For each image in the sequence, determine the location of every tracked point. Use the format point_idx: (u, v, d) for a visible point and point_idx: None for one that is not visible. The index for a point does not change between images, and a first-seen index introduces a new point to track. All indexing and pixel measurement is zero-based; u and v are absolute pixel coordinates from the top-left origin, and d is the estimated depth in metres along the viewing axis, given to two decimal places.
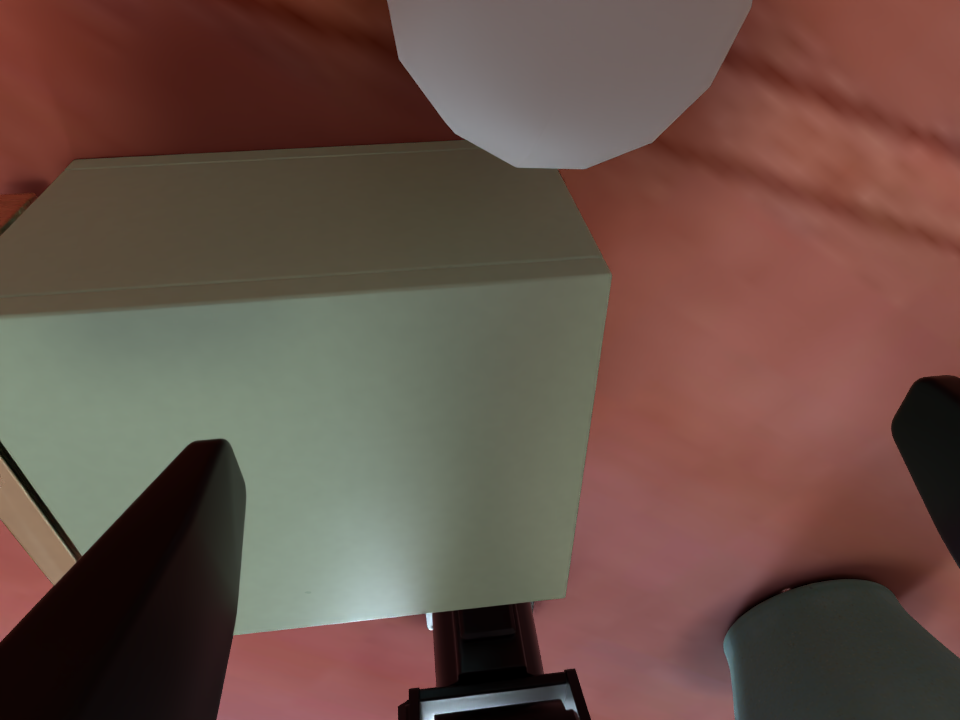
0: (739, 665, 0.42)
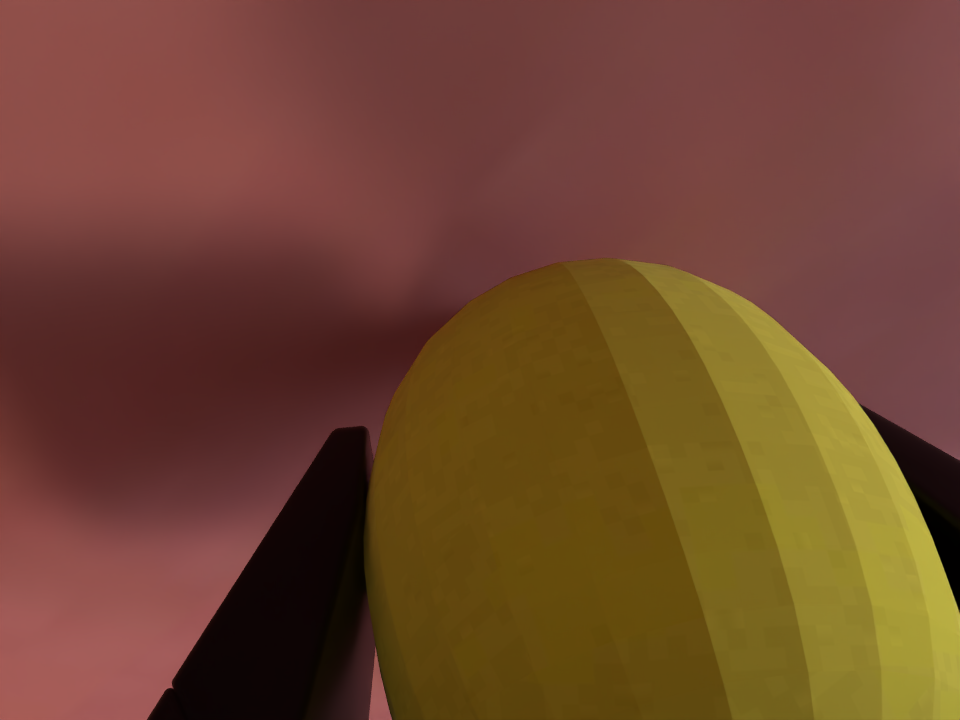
0: None
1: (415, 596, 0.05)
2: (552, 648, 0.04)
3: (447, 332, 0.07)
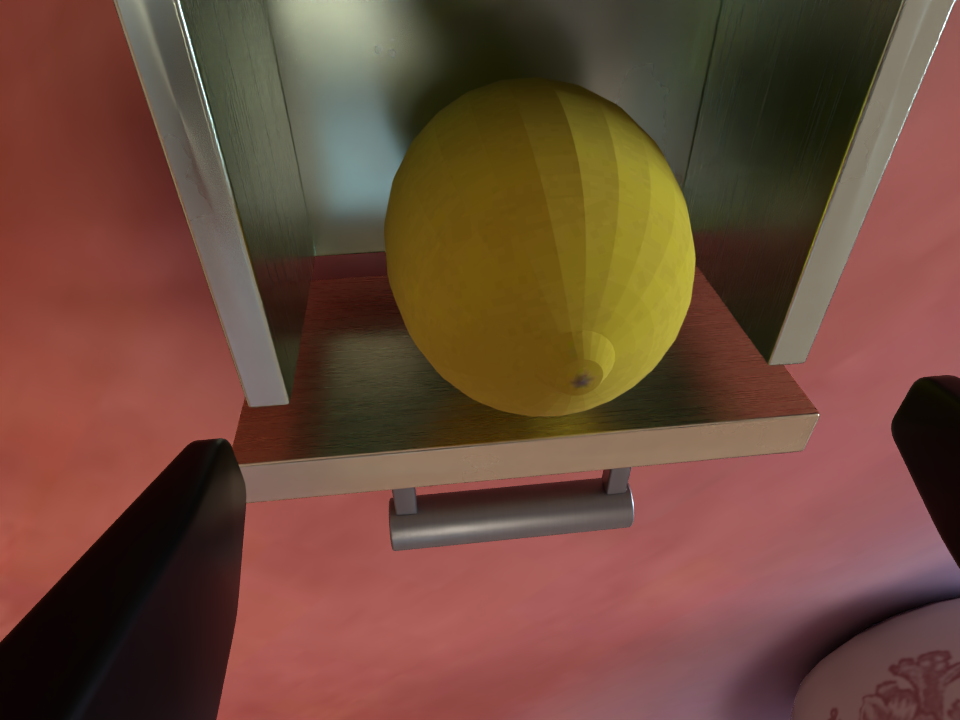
0: None
1: (413, 213, 0.10)
2: (475, 200, 0.09)
3: (432, 118, 0.12)
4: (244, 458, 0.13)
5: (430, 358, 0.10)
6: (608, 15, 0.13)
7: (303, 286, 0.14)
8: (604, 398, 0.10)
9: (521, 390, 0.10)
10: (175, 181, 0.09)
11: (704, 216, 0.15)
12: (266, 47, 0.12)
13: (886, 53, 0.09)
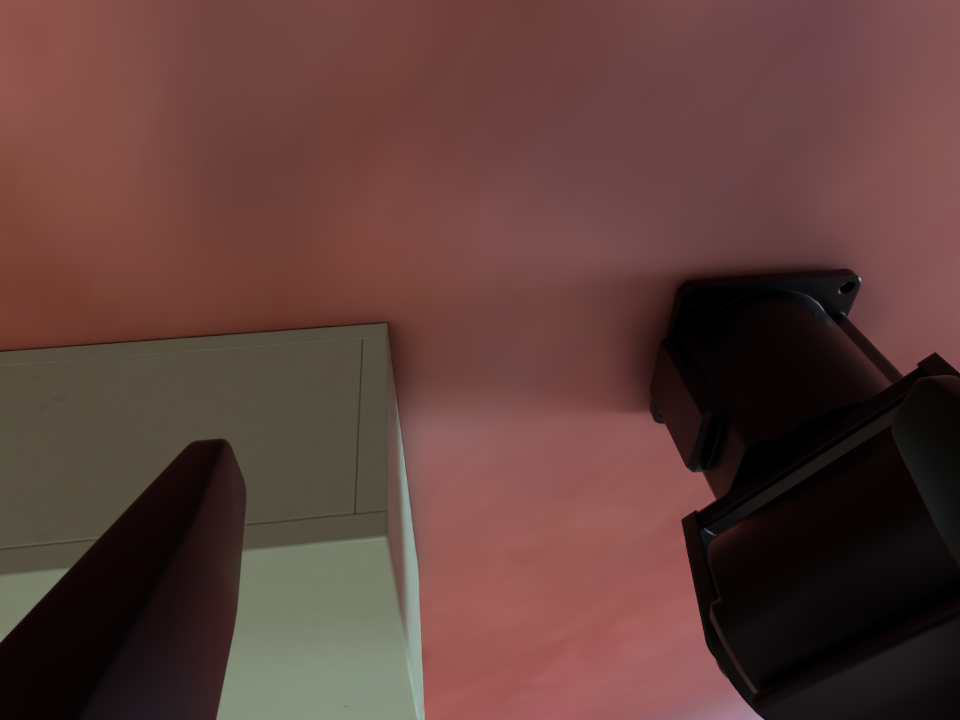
0: None
1: None
2: None
3: None
4: None
5: None
6: None
7: None
8: None
9: None
10: None
11: None
12: None
13: None
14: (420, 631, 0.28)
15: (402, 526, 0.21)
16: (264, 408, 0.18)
